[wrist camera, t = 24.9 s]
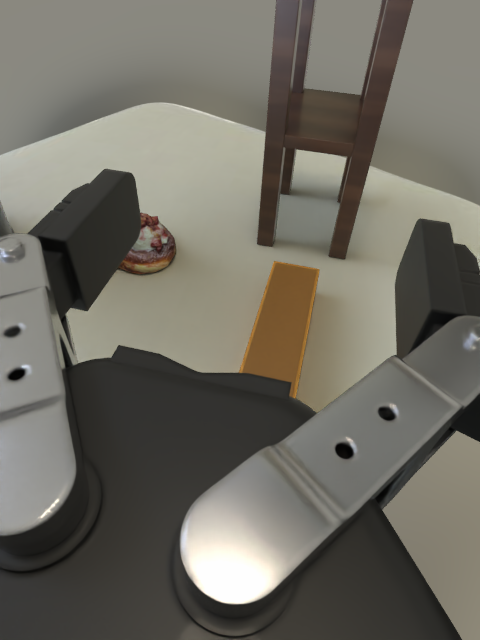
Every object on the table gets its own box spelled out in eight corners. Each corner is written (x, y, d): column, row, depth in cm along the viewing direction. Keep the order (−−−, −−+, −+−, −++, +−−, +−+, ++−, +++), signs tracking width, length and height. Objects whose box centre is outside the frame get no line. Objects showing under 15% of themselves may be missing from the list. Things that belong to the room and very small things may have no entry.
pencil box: (274, 505, 28) (279, 485, 26) (209, 488, 29) (208, 466, 27) (314, 292, 43) (320, 267, 41) (271, 284, 44) (274, 259, 42)
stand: (344, 259, 47) (462, -186, 24) (256, 244, 49) (291, -191, 26) (351, 197, 57) (441, -164, 34) (278, 186, 58) (317, -168, 36)
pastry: (178, 272, 45) (175, 232, 41) (104, 278, 44) (94, 237, 40) (173, 230, 50) (170, 191, 47) (108, 234, 49) (99, 194, 45)
